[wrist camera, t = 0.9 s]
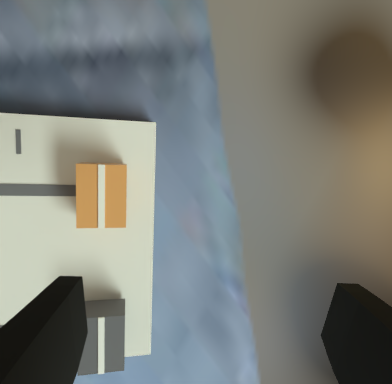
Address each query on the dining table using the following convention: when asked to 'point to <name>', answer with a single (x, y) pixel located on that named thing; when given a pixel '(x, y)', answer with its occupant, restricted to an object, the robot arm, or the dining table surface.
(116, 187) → the fader orange
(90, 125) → the board
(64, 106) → the dining table surface
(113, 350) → the block
